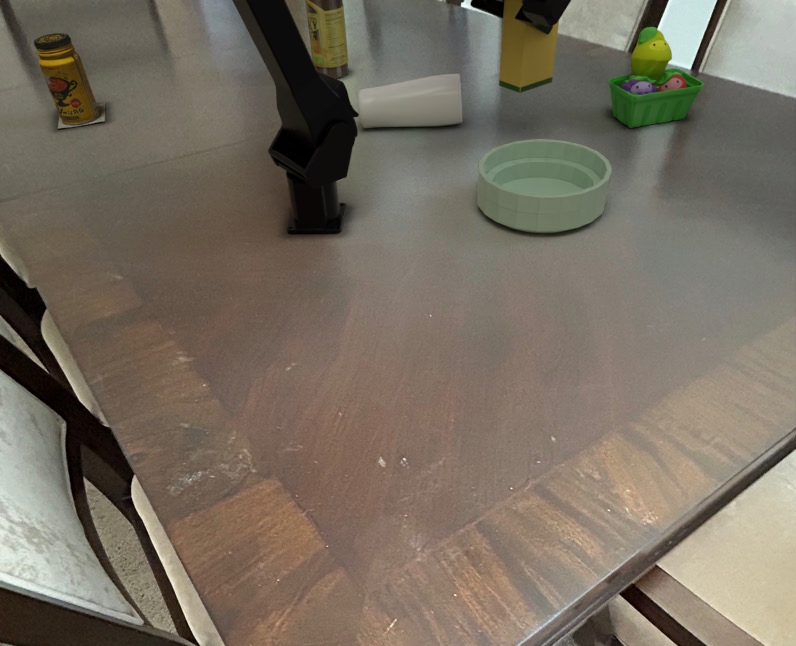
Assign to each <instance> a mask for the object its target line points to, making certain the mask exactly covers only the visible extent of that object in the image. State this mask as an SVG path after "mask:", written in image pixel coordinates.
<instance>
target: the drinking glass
mask: <svg viewBox="0 0 796 646" xmlns="http://www.w3.org/2000/svg"><path fill="white" fill-rule="evenodd" d="M461 84H462V83H461V74H460V72H459V73H445V74H444V73H443V74H435V75H428V76H424V77H418V78H413V79H409V80H403V81H398V82H394V83H389V84H384V85H378V86H373V87H365V88H361V89H359V90H358V92H357V113H358V114H359V116H358V119H359V122H360V125H361V127H362V128H363V129H371V128H373V129H374V128H399V127H401V128H404V127H405V128H407V127H408V128H409V127H414V128H415V127H418V128H419V127H442V126H443V127H444V126H450V125H457V124H462V123H463V104H462V103H463V102H462V87H461V86H462V85H461Z"/></svg>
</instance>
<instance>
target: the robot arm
mask: <svg viewBox="0 0 796 646" xmlns="http://www.w3.org/2000/svg"><path fill="white" fill-rule="evenodd" d="M231 1H232V3H233V4H234V7H235V9H236V11H237V12H238V14H239V17H240V18H241V20H242V22H243V25H244V26H245V28H246V30H247V32H248V34H249V36H250V38H251V40H252V41H253V44H254V46H255V48H256V49H257V51H258V54H259V55H260V57H261V60H262V61H263V63H264V65H265V67H266V69H267V71H268V73H269V75H270V77H271V79H272V81H273V84H274V86H275V97H276V98H275V99H276V100H275V101H276V109H277V113H278V115H279V118H280V121H281V126H280V128H279V130H278V131H277V133H276V135H275V137H274V139H273V140H272V142H271V144H270V146H269V148H268V150H267V153H268V155H269V157H270V159H271V160H272V162H273V164H274V165H275V166H276V167H279V168H281V169H282V170H284V171H285V176H286V177H285V178H286V184H287V190H288V196H289V200H290V207H291V214H290V216H289V219H288V222H287V225H286V233H288V234H329V233H331V234H332V233H333V234H335V233H337V234H338V233H341V231H342V228H343V224H344V220H345V216H346V212H347V204H346V203H345V202H340V199H339V191H338V190H339V189H338V181H340V180H343V179H346V178H347V177H348V173H349V168H350V164H351V158H352V153H353V147H354V146H355V142H356V138H357V137H358V135H359V129H358V125H357V121H356V119H355V118H359V112H358V111H356V110H355V109H354V107H353V104H351V100H350V96H349V92H348V89H347V87H346V85H345V82H344V81H342V80H340V79H338V78H336V79H335V78H333V77H331V76H329V75H326V74H324V73H322V72H320V71H318V70H316V68H315V66H314V63H313V61H312V56H311V55H310V52H309V50H308V48H307V46H306V43H305V41H304V39H303V37H302V34H301V32H300V30H299V27H298V26H297V24H296V21H295V18H294V16H293V15H292V12H291V10H290V7H289V6H288V3H287V1H286V0H231ZM453 1H454V2H458V3H462V4H463V3H464V2H465V1H466V0H453ZM504 1H505V0H471V1H470V2H469V3H470V7H471V8H473V9H476V10H479V11H481V12H484V13H485V14H486V13H487V14H489V15H491V16H494V17H495V18H498V19H501V20H503V14H504ZM571 2H572V0H522V4H523V5H522V6H521V8H520V10H519V11H518V13H517V15H516V16H515V19H516V20H518V21H520V22H522V23H524V24H526V25H528V26H530V27H532V28H534V29H536V30H538V31H540V32H542V33H545V34H547V35H548V34H549V33H550V32H551V30H552V28H553V25H555V24H557V22H558V21H559V22H560V19H561V18H562V17H563V14H565V11H566V10H567V8H568V6H569V5H570V3H571Z"/></svg>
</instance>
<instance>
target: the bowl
mask: <svg viewBox="0 0 796 646" xmlns="http://www.w3.org/2000/svg"><path fill="white" fill-rule="evenodd" d="M477 167H478V168H477V190H476V198H477V200H476V201H477V206H478V208H479V209H480V210H481V211H482V213H483V214H484V215H485V216H486V217H487V218H489V219H491V220H493V222H496V223H498V224H500V225H502V226H504V227H507V228H509V229H513V230H515V231H519V232H525V233H533V234H554V233H555V234H556V233H562V232H567V231H570V230H575V229H578V228H581V227H583V226H586V225H588V224H591V223H592V222H594V221H595V220H596V219H597V218H599V217H600V216H601V215H602V214H603V213H604V210H605V207H606V205H607V202H608V201H607V200H608V196H609V190H610V184H611V180H612V175H613V168H612V165H611V162H610V161H609V159H608V158H606V157H605V155H603V154H602V153H601V152H600V151H598V150H595V149H593V148H591V147H589V146H587V145H584V144H580V143H575V142H573V141H568V140H560V139H559V140H558V139H551V138H550V139H549V138H540V139H539V138H536V139H535V138H533V139H532V138H531V139H524V140H517V141H511V142H507V143H505V144H501V145H499V146H496V147H494V148H492V149H491V150H489V151H488V152H486V153H485V154H483V156H482V157H481V159H480V160H479V162H478V166H477Z"/></svg>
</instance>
